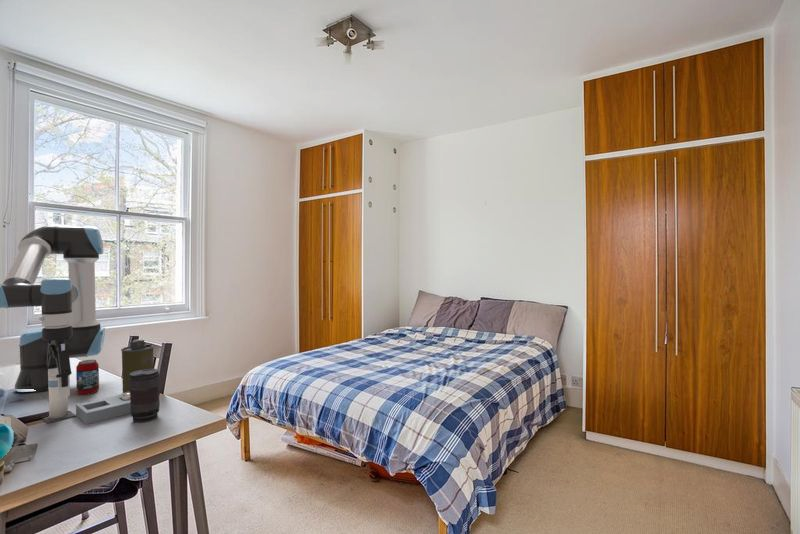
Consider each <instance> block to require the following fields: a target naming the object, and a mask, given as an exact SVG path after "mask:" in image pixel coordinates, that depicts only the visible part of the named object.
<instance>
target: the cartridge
mask: <svg viewBox="0 0 800 534" xmlns="http://www.w3.org/2000/svg"><path fill="white" fill-rule="evenodd" d="M58 374H59V373H58V372H54V373H52V376H49V380H48V387H49V390H48V415H49V418H50V419H57V418H62V417H65V416H67V415H68V411H69V405H68V404H69V398H68V397H69V396H67V397H62V398H58V378H56V375H58Z"/></svg>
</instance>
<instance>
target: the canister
mask: <svg viewBox="0 0 800 534" xmlns="http://www.w3.org/2000/svg"><path fill="white" fill-rule="evenodd" d="M129 344H130V346H125V347H122V348H121V349H120V351H121V371H122V372H121V375H122V378H121V379H122V394H123V393H125V392H130V389H129V377H130V373H132V372H134V371H138V370H143V369H154V348H155V347H154V345H153V344H152V343H146V342H145V340H144V339H135V340H133V341H129Z"/></svg>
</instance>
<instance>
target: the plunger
mask: <svg viewBox="0 0 800 534" xmlns="http://www.w3.org/2000/svg"><path fill="white" fill-rule="evenodd" d="M121 394H122V400H123V401H125V400H129V399H130V392H125V393H123V392H122V393H121Z"/></svg>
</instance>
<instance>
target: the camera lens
mask: <svg viewBox="0 0 800 534" xmlns="http://www.w3.org/2000/svg"><path fill="white" fill-rule="evenodd" d="M129 389H130V410H131V413H130V416H131V417H132V421H133V422H135V423H146V422H150V421H153V420H156V419H157V418H158V416H159V414H158V413H159V412H160V402H161V401H160V395H161V391H160V372H159V369H158V368H153V369H143V370H138V371H134V372H132V373H130V377H129Z"/></svg>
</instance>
